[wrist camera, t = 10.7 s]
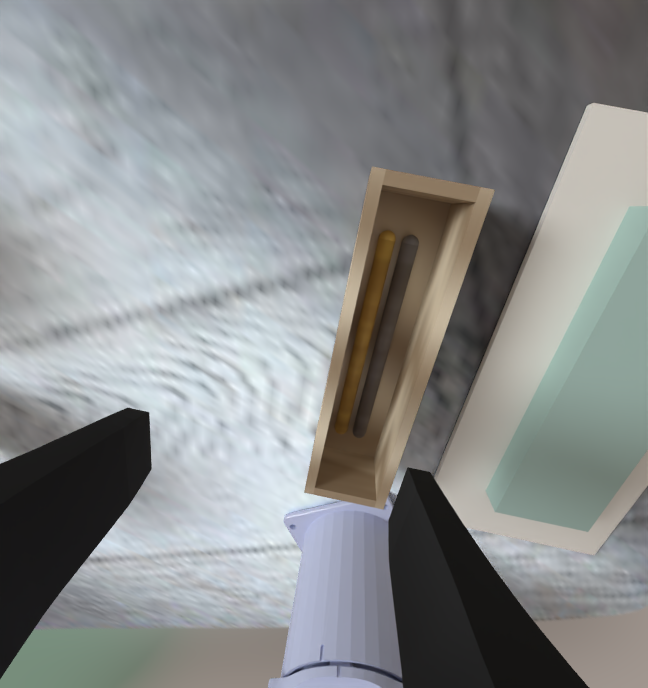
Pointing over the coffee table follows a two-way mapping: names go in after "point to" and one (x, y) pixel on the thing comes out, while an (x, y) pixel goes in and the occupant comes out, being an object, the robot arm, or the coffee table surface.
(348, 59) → the coffee table surface
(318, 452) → the pencil box
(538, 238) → the mat
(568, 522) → the lid
